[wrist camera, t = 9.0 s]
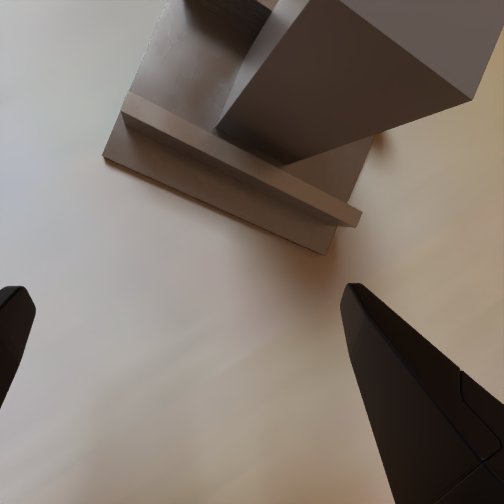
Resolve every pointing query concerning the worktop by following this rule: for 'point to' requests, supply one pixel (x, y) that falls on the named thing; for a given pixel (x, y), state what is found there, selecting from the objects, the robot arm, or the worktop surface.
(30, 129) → the worktop surface
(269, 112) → the gray rectangular block
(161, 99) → the bracket
